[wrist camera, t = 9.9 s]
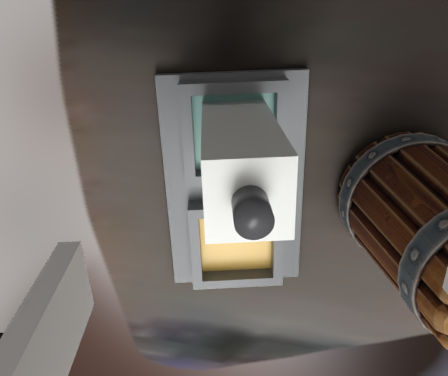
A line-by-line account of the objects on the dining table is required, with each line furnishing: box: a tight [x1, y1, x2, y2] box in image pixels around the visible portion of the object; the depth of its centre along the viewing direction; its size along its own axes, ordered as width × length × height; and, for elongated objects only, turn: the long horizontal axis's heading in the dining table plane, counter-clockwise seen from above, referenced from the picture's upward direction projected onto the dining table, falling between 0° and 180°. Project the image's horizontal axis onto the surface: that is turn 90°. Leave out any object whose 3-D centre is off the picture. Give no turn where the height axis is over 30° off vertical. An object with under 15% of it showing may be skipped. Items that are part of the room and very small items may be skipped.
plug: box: [201, 99, 298, 244], centre depth 24 cm, size 5×4×14 cm
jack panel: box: [155, 68, 309, 290], centre depth 33 cm, size 18×11×2 cm, turn 2°
